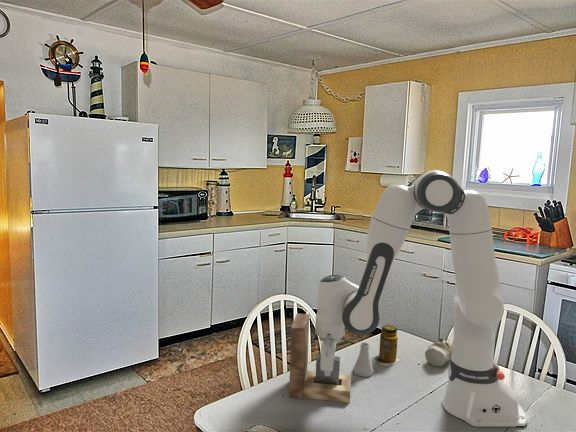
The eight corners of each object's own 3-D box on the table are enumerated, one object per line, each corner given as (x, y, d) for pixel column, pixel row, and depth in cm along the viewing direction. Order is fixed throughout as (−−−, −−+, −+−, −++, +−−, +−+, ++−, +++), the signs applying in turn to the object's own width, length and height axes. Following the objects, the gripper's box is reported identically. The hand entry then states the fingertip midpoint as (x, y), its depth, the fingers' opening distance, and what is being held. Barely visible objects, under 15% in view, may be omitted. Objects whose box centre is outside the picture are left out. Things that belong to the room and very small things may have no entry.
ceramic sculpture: (419, 339, 161) (434, 329, 173) (416, 363, 162) (432, 351, 174) (449, 348, 155) (463, 337, 166) (446, 373, 155) (460, 360, 167)
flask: (373, 378, 150) (375, 349, 149) (351, 376, 152) (353, 347, 150) (374, 368, 157) (376, 340, 156) (353, 366, 159) (354, 338, 157)
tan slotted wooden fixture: (350, 384, 146) (354, 317, 143) (349, 404, 135) (353, 332, 131) (294, 378, 149) (296, 313, 146) (289, 397, 137) (291, 327, 134)
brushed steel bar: (338, 384, 142) (340, 356, 141) (338, 389, 139) (339, 361, 138) (316, 381, 143) (317, 354, 142) (315, 386, 140) (316, 358, 139)
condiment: (401, 359, 165) (403, 327, 163) (387, 367, 159) (389, 334, 157) (383, 353, 170) (385, 322, 168) (370, 359, 164) (372, 327, 162)
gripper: (338, 343, 128) (336, 389, 130) (341, 317, 148) (339, 357, 150) (316, 341, 129) (314, 387, 131) (322, 315, 149) (320, 356, 151)
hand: (327, 371), depth 141 cm, fingers closed on brushed steel bar, 3 cm apart
